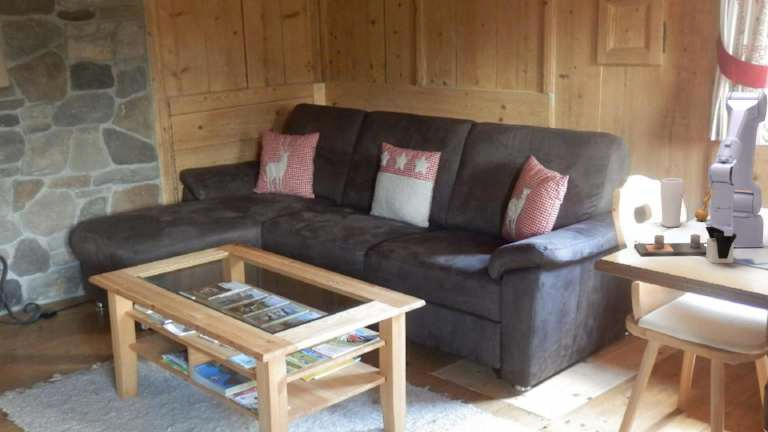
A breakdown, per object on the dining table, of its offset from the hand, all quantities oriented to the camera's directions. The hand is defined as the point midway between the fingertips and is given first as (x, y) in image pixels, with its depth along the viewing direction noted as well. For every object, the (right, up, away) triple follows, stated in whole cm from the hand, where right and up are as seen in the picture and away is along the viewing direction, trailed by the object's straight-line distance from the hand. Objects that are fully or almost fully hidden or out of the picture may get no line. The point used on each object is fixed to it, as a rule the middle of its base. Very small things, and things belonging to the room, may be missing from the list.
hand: (719, 255), depth 232 cm
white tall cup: (0, +7, +40) cm, 40 cm away
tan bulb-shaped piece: (+13, +9, +44) cm, 47 cm away
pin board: (-8, +1, +11) cm, 14 cm away
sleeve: (0, -1, 0) cm, 1 cm away
